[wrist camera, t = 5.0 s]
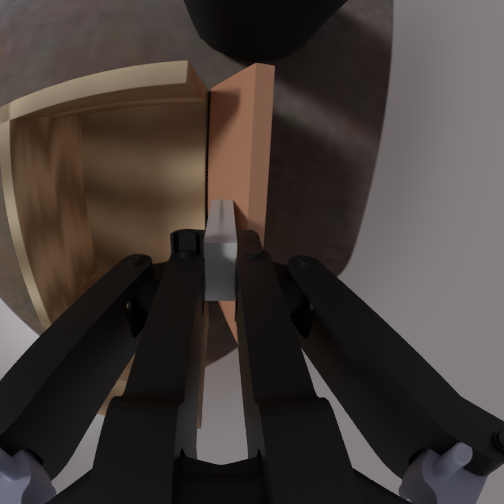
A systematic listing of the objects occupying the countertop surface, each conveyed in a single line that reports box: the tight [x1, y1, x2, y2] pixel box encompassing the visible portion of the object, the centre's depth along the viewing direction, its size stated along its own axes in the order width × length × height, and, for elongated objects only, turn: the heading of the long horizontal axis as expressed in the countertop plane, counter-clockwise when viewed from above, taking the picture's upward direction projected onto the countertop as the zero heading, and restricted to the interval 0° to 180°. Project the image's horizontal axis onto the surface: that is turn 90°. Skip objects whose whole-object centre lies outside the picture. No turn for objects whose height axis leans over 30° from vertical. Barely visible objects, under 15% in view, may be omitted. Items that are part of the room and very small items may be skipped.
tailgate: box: [208, 63, 275, 344], centre depth 19 cm, size 18×1×10 cm, turn 177°
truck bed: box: [0, 60, 209, 429], centre depth 18 cm, size 24×13×14 cm, turn 177°
